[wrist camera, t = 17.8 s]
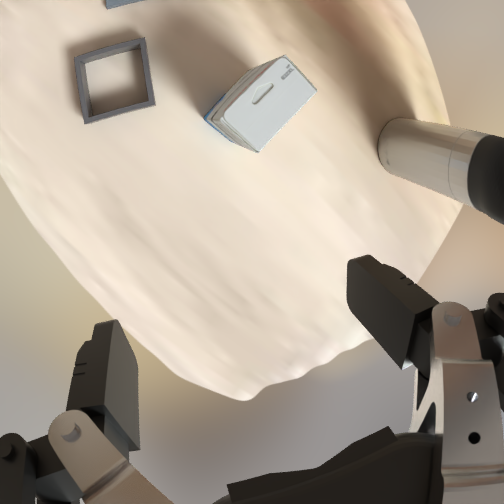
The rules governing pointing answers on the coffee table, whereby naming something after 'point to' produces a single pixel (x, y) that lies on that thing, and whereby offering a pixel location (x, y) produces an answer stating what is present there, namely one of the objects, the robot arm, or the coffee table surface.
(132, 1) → the slate board
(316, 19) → the coffee table surface
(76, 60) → the sleeve
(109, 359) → the robot arm
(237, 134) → the ink box
